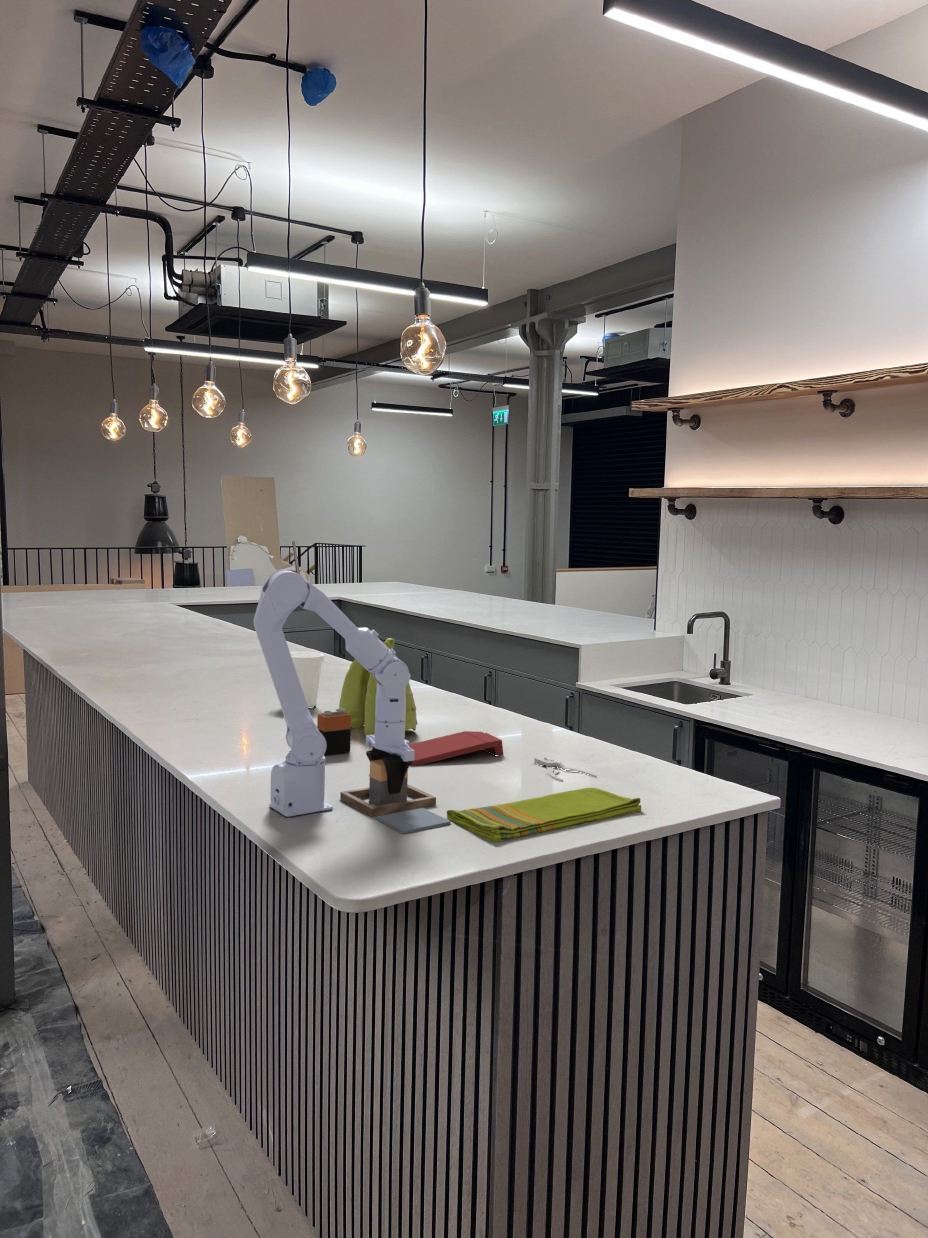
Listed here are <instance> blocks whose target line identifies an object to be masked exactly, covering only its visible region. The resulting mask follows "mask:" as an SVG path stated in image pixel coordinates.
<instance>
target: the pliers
mask: <svg viewBox="0 0 928 1238" xmlns="http://www.w3.org/2000/svg"><path fill="white" fill-rule="evenodd" d="M543 758H544V759H542V758H539V757H534V759H533V760H534V762H535V763H537V764H539V765H538V766H540V765H542V766H543V767H545V768H546V767H547V768H548V769H547V768H546V774H547V775H548V774H549V775H550V776H551V777H552V778H551V777H550V776H549V775H548V776H549V777H550V778H551V779H553V778H554V779H553V780H555V779H556V780H555V781H558V780H559V781H558V782H561V781H562V782H564V780H563V779H562V778H561V777H560V776H557V775H558V774H557V773H559V774H560V769H558V768H562V769H563V770H565V769H570V770H566V771H578V772H582V773H581V774H583V773H586V774H585V775H587V774H589V775H588V776H590V775H591V776H590V777H593V778H597V774H595V773H593V772H591V771H588V770H584V769H582V768H581V769H580V768H577V767H576V768H575V767H570V766H569V767H568V766H565V765H564V764H563V763H562V762H561V761H557V760H554V759H552V758H551V757H548V756H544V757H543ZM535 763H534V764H535ZM537 764H536V765H537ZM544 765H546V766H544ZM542 766H541V767H542ZM552 767H556V768H557V767H558V768H557V771H556V772H553V771H555V768H552ZM563 770H562V771H563ZM578 772H577V773H578ZM555 774H557V775H555Z"/></svg>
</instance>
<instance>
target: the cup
mask: <svg viewBox="0 0 928 1238" xmlns="http://www.w3.org/2000/svg"><path fill="white" fill-rule="evenodd" d="M290 654H291V657H292V660H293V663H294V666H295V669H296V672H297V675H298V678H299V681H300V684H301V687H302V691H303V694H304V697H305V700H306V703H307V706H308V707H313V706H316V707H317V699H318V692H319V684H320V678H321V670H322V664H323V662H324V660H325V654H323V653H321V652H316V651H290Z"/></svg>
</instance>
